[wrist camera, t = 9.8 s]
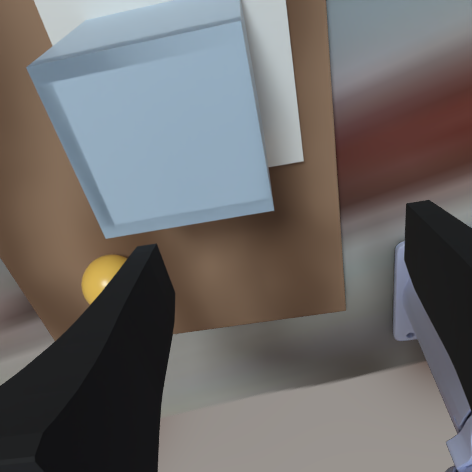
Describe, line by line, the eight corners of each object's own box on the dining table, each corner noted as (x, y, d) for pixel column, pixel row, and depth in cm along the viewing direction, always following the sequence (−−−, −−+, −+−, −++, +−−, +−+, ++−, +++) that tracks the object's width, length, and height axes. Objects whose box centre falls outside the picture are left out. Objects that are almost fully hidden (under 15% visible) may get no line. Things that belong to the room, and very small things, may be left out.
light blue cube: (238, -15, 16) (240, 21, 11) (263, 134, 19) (274, 210, 15) (85, 20, 17) (26, 67, 12) (136, 158, 20) (105, 238, 15)
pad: (276, -78, 15) (276, -78, 15) (302, 157, 21) (303, 161, 20) (29, -21, 16) (25, -20, 16) (115, 189, 22) (114, 194, 21)
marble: (135, 238, 23) (124, 277, 21) (152, 280, 25) (144, 320, 23) (81, 247, 24) (64, 286, 21) (102, 288, 25) (88, 328, 23)
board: (314, -106, 16) (318, -107, 15) (342, 298, 27) (345, 310, 27) (-146, 2, 18) (-164, 7, 17) (65, 337, 29) (60, 349, 28)
